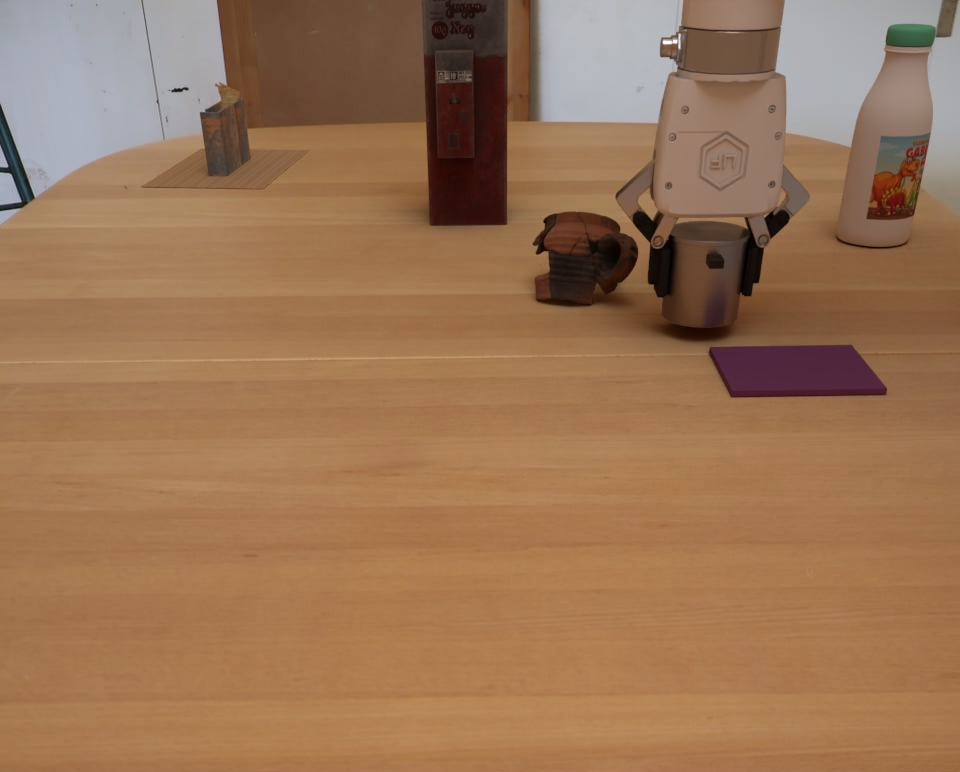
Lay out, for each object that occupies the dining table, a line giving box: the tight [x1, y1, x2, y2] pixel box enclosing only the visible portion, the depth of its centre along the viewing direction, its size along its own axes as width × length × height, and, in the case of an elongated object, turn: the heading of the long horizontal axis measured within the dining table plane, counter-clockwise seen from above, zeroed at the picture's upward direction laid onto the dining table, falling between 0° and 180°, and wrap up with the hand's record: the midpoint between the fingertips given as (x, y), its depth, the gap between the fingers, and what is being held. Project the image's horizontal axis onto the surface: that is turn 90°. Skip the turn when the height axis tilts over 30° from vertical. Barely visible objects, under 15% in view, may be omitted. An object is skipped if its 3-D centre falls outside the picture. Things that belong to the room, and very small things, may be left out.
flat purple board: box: [708, 344, 888, 398], centre depth 91 cm, size 12×10×1 cm
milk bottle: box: [836, 23, 937, 248], centre depth 117 cm, size 8×8×20 cm
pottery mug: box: [532, 211, 639, 306], centre depth 107 cm, size 12×10×8 cm
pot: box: [661, 220, 750, 329], centre depth 96 cm, size 7×10×7 cm
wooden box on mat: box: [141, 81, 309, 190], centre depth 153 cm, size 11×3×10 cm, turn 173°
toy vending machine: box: [421, 0, 509, 226], centre depth 124 cm, size 9×11×28 cm
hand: (701, 290), depth 97 cm, fingers closed on pot, 6 cm apart
